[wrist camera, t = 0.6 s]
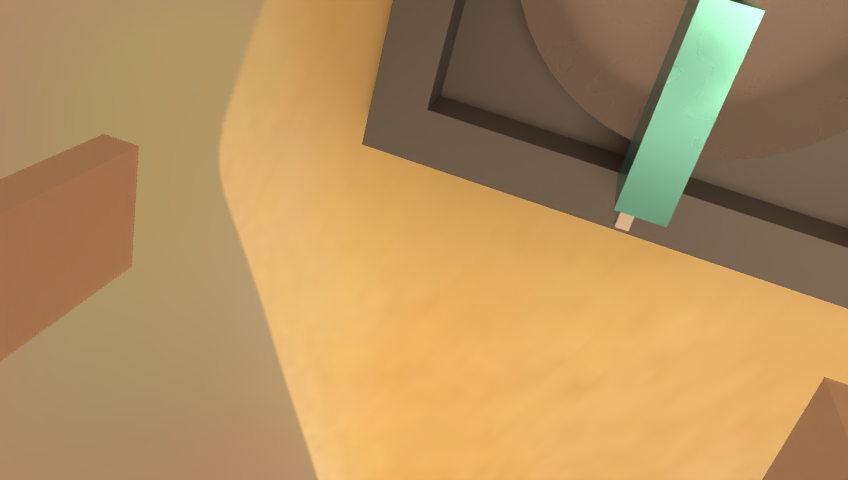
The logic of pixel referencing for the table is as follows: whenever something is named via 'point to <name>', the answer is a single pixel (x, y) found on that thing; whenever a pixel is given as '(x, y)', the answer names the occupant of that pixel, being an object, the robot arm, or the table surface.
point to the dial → (697, 81)
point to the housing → (594, 149)
